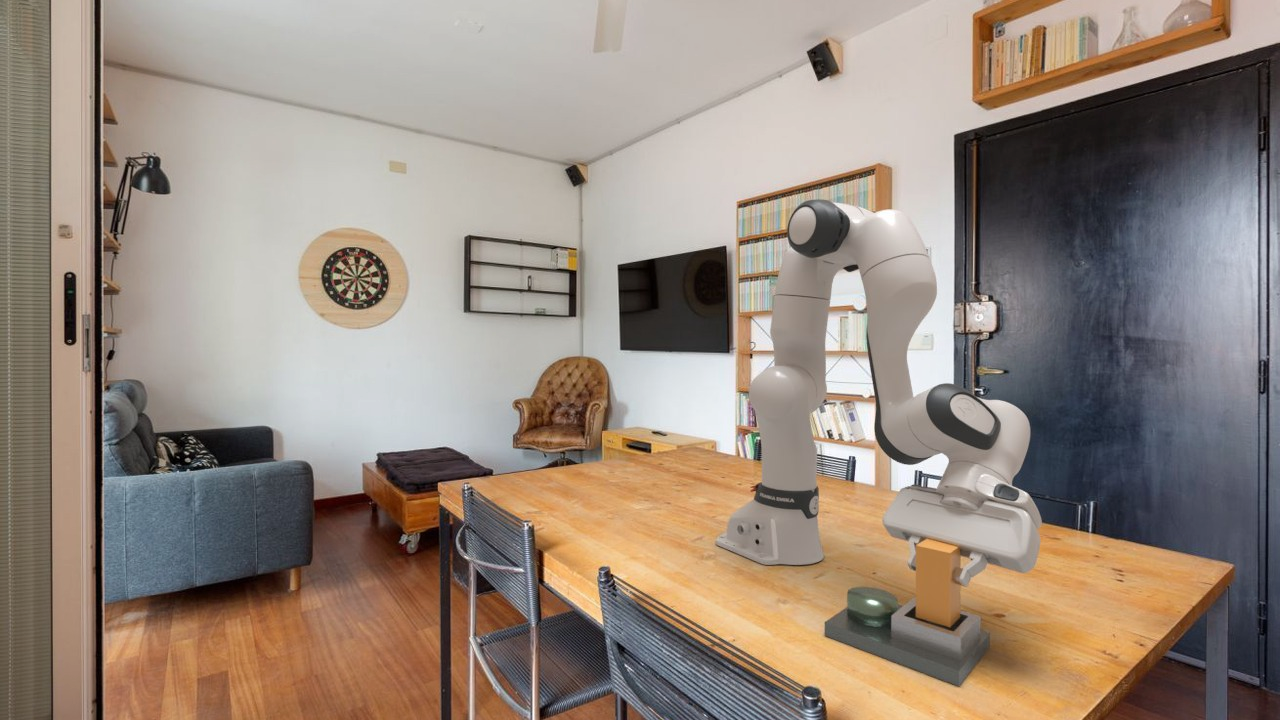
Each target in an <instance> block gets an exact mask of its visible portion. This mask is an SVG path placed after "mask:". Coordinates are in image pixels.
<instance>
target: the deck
mask: <svg viewBox="0 0 1280 720" xmlns="http://www.w3.org/2000/svg"><path fill="white" fill-rule="evenodd" d="M846 595H847V601H846V603H847V605H846V607H845V608H843V609H842V610H841V611H839V612H837V613H836V614H834V615H833V616H831V617H829V618H828V619H827V620H826V621H824V636H825V637H827V638H830V639H832V640H835V641H838V642H840V643H842V644H845V645H848V646H851V647H854V648H856V649H859V650H862V651H864V652H867V653H870V654H872V655H874V656H878V657H880V658H882V659H885V660H887V661H889V662H890V661H891V662H894V663H896V664H898V665H901V666H904V667H906V668H909V669H911V670H914V671H916V672H920V673H922V674H925V675H927V676H930V677H933V678H935V679H938V680H941V681H943V682H946V683H949V684H950V685H954V686H956V687H960V686H961V685H962V684H963V683H964V681H965V680H966V679H967V677H968V676H969V675H970V673H971V672H972V670H974V668H975V667H976V665H977V664H978V663H979V662H980V660H981V659H982V658H983V656H984V655H985V654H986V653H987V652H988V651H989V649H990V647H991V632H989V631H985V630H983V629H981V620H982V619H981V615H978V614H974V613H971V612H967V611H964V610H961V609H960V618H959V619H958V620H957V621H956V622H955V623H954V624H953V625H952V626H951V627H947V626H943V625H940V624H937V623H934V622H930V621H927V620H924V619H921V618H917V617H916V596H914V597H913V598H911V599H910V600H909V601H908V602H906V603H905V604H904V605H901V604H899V603H898V598H897V597H896V596H895V595H894V594H892V593H891V592H890V591H887V590H884V589H880V588H877V587H871V586H856V587H852V588H849V589H848V591H847V592H846Z"/></svg>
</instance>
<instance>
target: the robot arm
mask: <svg viewBox="0 0 1280 720" xmlns="http://www.w3.org/2000/svg"><path fill="white" fill-rule="evenodd" d="M786 236H787V240H788V244H789V246H790V247H789V248H788V249H787V250H786V251H785V253H784V256H783V258H782V261H781V264H780V268H779V270H778V271H779V272H778V275H777V279H776V285H775V290H774V296H773V297H774V298H773V307H772V314H771V323H770V329H769V333H770V334H769V335H770V338H771V340H772V345H773V357H774V358H773V359H774V360H773V361H774V366H770V367H767V368H766V369H764V370H763V371H761V372H760V373H758V374H757V375H756V376H755V377H754V378H753V379H752V381H751V382H750V385H749V388H748V399H749V402H750V403H749V404H750V406H751V407H752V409H753V411H754V413H755V416H756V422H757V426H758V427H757V428H758V431H759V432H758V433H759V436H760V444H761V482H759V483H756V484H755V485H753V486H752V485H751V486H750V487H749V488H750V493H752V492H753V493H754V492H755V494H754V496H753V499H752V500H750V501H749V502H748V503H746V504H744V505H743V506H741V507H740V508H738V509H737V510H736V511H734V512H732V514H731V515H730V516H729V519H728V522H727V528H726V532H723V533H721V534H720V535H718V536H717V538H716V540H715V545H716V546H718V547H721V548H723V549H725V550H728V551H731V552H732V553H735V554H737V555H740V556H742V557H745V558H747V559H749V560H751V561H754V562H756V563H758V564H761V565H767V566H771V565H789V566H793V565H794V566H801V565H802V566H803V565H804V566H805V565H812V564H815V563H818V562H820V561H822V560H823V559H824V558H825V553H824V550H823V547H822V541H821V536H820V532H819V531H820V530H819V523H818V521H819V520H818V515H819V508H820V506H819V505H820V499H819V498H820V495H819V493H820V492H819V491H820V489H819V486H817V484H818V483H817V482H818V481H817V480H818V479H817V477H818V473H817V472H818V471H817V470H818V448H817V445H816V443H815V440H814V439H815V438H814V436H813V430H812V423H811V414H812V413H814V412H816V411H817V410H818V409H819V408H820V407H821V405H822V404H823V403H824V402H825V399H826V396H827V392H828V386H827V382H826V377H827V363H826V362H827V361H826V359H827V358H826V337H827V330H828V321H829V312H830V305H831V298H832V291H833V290H832V288H833V282H834V278H835V276H836V275H837V273H838V272H840V271H841V270H842V269H843V270H845V271H846V272H848V273H852V272H856V271H857V270H858V271H859V274H860V278H861V282H862V286H863V290H864V295H865V301H866V303H865V304H866V314H867V315H866V331H865V332H866V333H865V335H866V336H865V337H866V339H865V340H866V349H867V355H868V363H869V369H870V374H871V379H872V380H871V381H872V387H873V394H874V399H875V400H874V401H875V416H874V427H873V428H874V429H873V430H874V431H873V432H874V436H875V439H876V442H877V444H878V446H879V447H880V449H881V450H882V451H883V453H884V454H886V456H888V457H889V458H890V459H892V460H893V461H895V462H896V463H899V464H902V465H907V466H913V465H918V464H919V463H922V462H924V461H926V460H929V459H930V458H933V457H934V456H937V455H940V454H943V455H944V456H946V457H947V459H948V463H947V466H946V467H945V470H944V472H943V474H942V476H941V479H940V481H939V483H938V485H937V486H936V488H935V487H930V486H922V485H919V484H910V485H908V486H905V487H902V488H900V490H899V491H898V493H897V494H896V497H895V498H894V499H893V501H892V502H891V503H890V505H889V507H888V508H887V510H886V511H885V513H884V514H883V516H882V524H883V526H884V528H885V530H886V532H887V533H888V534H889V535H890V536H891V537H892V538H895V539H898V540H901V541H902V540H903V541H905V542H908V545H909V550H910V556H909V558H908V561H907V567H908V568H909V569H910V571H915V572H916V545H917V544H919V543H921V542H922V541H924V540H925V539H927V538H928V539H932V540H936V541H939V542H943V543H947V544H951V545H955V546H958V547H961V557H963V558H967V559H969V560H970V562H968V563H967V564H966V565H964V566H963V567H961V568H959V567H956V568H955V570H954V571H955V573H953V575H952V580H953V581H954V583H955V584H958V585H960V587H961V586H962V587H965V588H968V586H969V584H970V582H971V580H972V578H974V577H975V576H977V575H979V574H980V573H981V572H983V571H985V570H986V567H987V565H988V564H989V565H992V566H996V567H999V568H1002V569H1007V570H1010V571H1013V572H1016V573H1017V572H1018V573H1020V574H1026V573H1028V572H1030V571H1032V570H1034V568H1035V566H1036V564H1037V560H1038V557H1039V553H1040V546H1041V536H1040V533H1039V531H1038V530H1039V529H1040V528H1041V526H1042V524H1043V522H1042V521H1043V520H1042V517H1041V514H1040V511H1039V509H1038V507H1037V505H1036V504H1035V501H1034V500H1033V498H1032V497H1031V496H1030V494H1029V492H1026V491H1024V490H1022V489H1020V488H1018V487H1016V486H1013V480H1014V478H1015V476H1017V474H1018V473H1019V472H1020V470H1021V468H1022V466H1023V463H1024V461H1025V457H1026V456H1027V452H1028V449H1029V445H1030V441H1031V425H1030V421H1029V419H1028V417H1027V415H1026V414H1025V413H1024V412H1023V411H1022V410H1021V409H1020V408H1019V407H1017V406H1016V405H1014V404H1012V403H1010V402H1008V401H1004V400H1001V399H1000V400H999V399H985V398H981V397H978V396H976V395H975V394H973V393H972V392H971V391H969V390H968V389H966V388H964V387H963V386H960V385H958V384H955V383H949V382H948V383H946V382H945V383H940V384H938V385H935V386H932V387H931V388H929V389H925V391H922V392H920V393H918V394H916V395H915V396H914V392H913V387H912V382H911V381H912V380H911V376H910V370H909V365H908V364H909V363H908V349H909V345H910V343H911V340H912V338H913V337H914V334H915V333H916V331H917V329H918V327H919V326H920V325H921V323H922V322H923V320H924V319H925V318H926V316H927V315H928V314H929V313H930V311H931V310H932V308H933V306H934V304H935V301H936V299H937V295H938V287H937V277H936V272H935V268H934V267H933V264H932V261H931V258H930V256H929V255H930V254H929V252H928V250H927V247H926V246H925V243H924V241H923V239H922V237H921V235H920V233H919V231H918V230H917V227H916V225H915V224H914V222H913V221H912V220H911V218H910V217H909V216H908V215H907V214H906V213H905V212H903V211H901V210H898V209H882V210H878V211H874V210H873V211H871V210H869V209H867V208H864V207H861V206H859V205H856V204H851V203H841V202H834V201H833V202H832V201H831V200H827V199H818V198H817V199H810V200H806V201H803V202H801V203H800V204H799V205H798V206H797V207H795V209H794V210H793V212H792V213H791V215H790V217H789V220H788V223H787V230H786Z"/></svg>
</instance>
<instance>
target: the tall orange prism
mask: <svg viewBox="0 0 1280 720" xmlns="http://www.w3.org/2000/svg"><path fill="white" fill-rule="evenodd" d="M961 557H962V556H961V547H958V546H955V545H951V544H947V543H943V542H939V541H936V540H932V539H928V538H927V539H925V540H924V541H922V542H921V543H919V544H917V545H916V571H915V597H916V617H917V618H921V619H924V620H927V621H930V622H934V623H937V624H940V625H943V626H947V627H951V626H952V625H953V624H954V623H955V622H956V621H957V620H958V619H959V618H960V610H961V585H958V584H955V583H954V581H953V580H952V575H953V573H955V571H954V570H955V568H956V567H959V568H962V567H961V564H962V563H961V562H962V561H961V559H962V558H961Z"/></svg>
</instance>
